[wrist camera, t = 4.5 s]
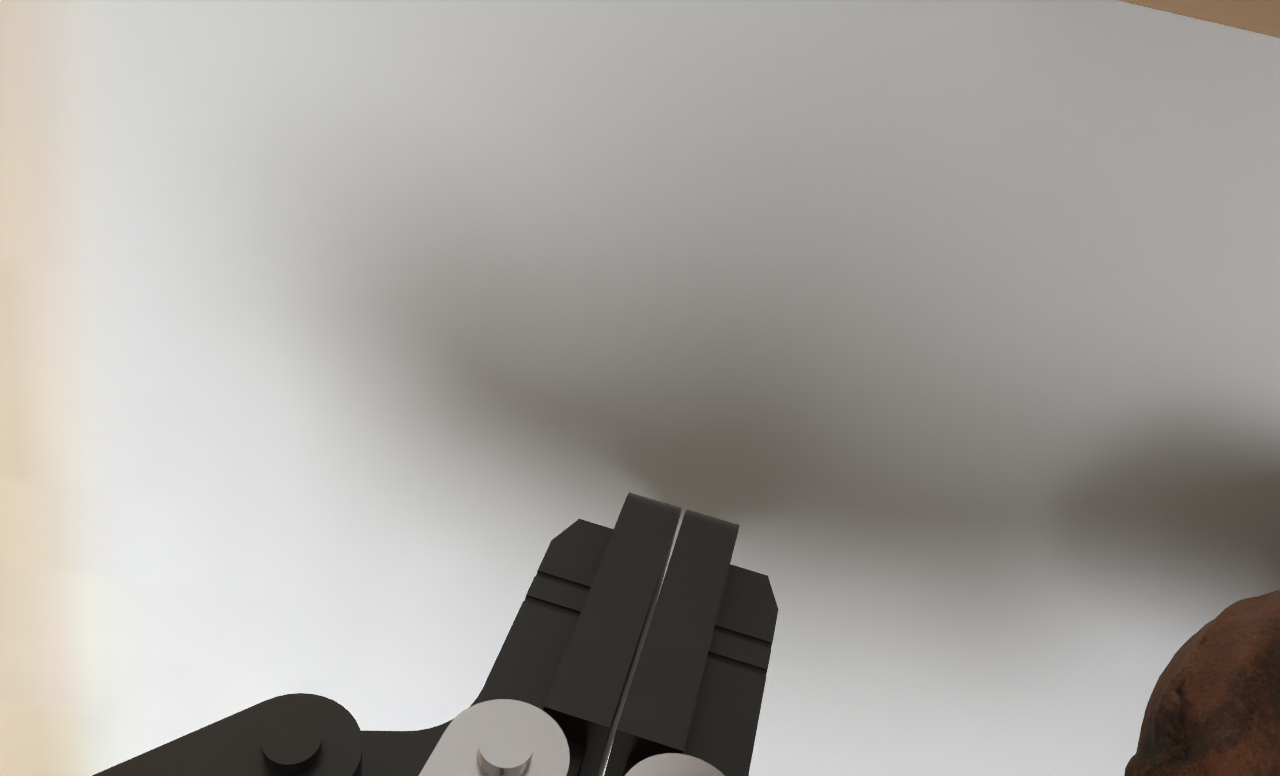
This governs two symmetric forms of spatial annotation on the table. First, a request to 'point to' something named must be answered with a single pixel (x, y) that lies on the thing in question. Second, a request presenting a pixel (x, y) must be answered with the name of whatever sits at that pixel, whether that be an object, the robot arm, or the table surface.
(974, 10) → the table surface
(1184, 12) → the lane rails
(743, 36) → the table surface
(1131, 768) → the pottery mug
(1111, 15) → the table surface
